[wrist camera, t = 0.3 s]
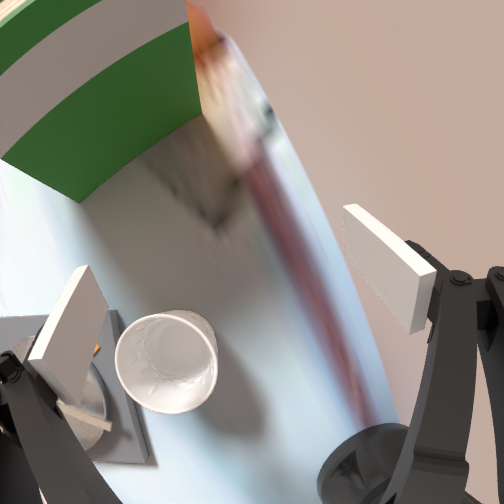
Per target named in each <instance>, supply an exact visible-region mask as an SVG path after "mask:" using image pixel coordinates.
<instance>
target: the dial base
mask: <svg viewBox="0 0 504 504" xmlns="http://www.w3.org/2000/svg"><path fill="white" fill-rule="evenodd" d="M48 317H49V315H33V316H12V317H0V354H1V353H3V352H4V351H8V350H10V349H11V348H12V346H13V345H14V344H15V343H16V342H18V341H20V340H21V339H24V338H27V337H31V336H34V335H36V334H37V332H38V330H39V329H40V328H41V327H42V325H43V324H44V323H46V321H47V319H48ZM120 337H121V336H120V330H119V324H118V317H117V310H107V313H106V316H105V319H104V322H103V325H102V328H101V331H100V334H99V337H98V341H97V344H96V347H95V350H94V354H93V357H92V361H91V363H92V364H93V366H94V367H95V369H96V370H97V372H98V373H99V375H100V377H101V379H102V381H103V383H104V386H105V389H106V391H107V395H108V399H109V406H110V417H109V421H111V422H112V430H111V431H107V430H105V432H104V434H103V435H102V436H101V437H100V439H99V440H98V441H97V442H96V443H95V445H94V446H92V447H91V448H90V449H88V450H86V451H85V452H86V454H87V455H88V457H89V458H90V459H92V460H101V461H112V462H125V463H146V461H147V458H148V456H149V454H148V451H147V447H146V444H145V441H144V437H143V434H142V430H141V427H140V423H139V419H138V416H137V412H136V408H135V404H134V400H133V398H132V397H131V396H130V395H129V394H128V393H127V392H126V390H125V389H124V388H123V386H122V384H121V382H120V380H119V378H118V375H117V372H116V367H115V351H116V346H117V343H118V341H119V339H120Z"/></svg>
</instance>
